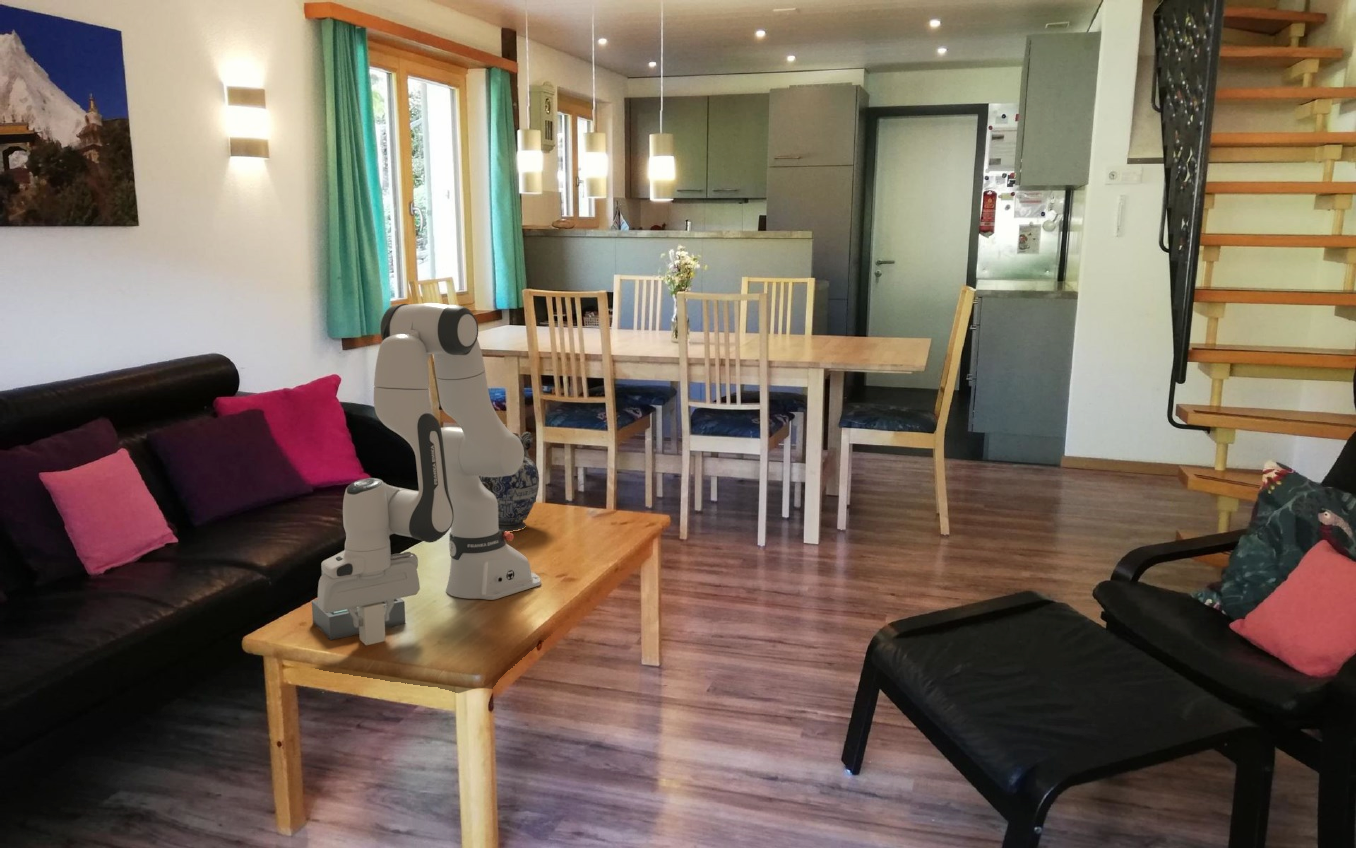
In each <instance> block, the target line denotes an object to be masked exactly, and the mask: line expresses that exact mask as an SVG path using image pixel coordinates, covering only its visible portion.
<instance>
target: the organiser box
mask: <svg viewBox="0 0 1356 848" xmlns="http://www.w3.org/2000/svg"><path fill="white" fill-rule="evenodd" d="M382 603H383V604H384V607H385V605H386V603H385V602H382ZM405 606H406V605H405V600H404V599H402V598H398V599H394V605H393V607H392V609H391V611H390V613H389V621H385V629H386V628H390V627H394V626H399V625H404V624H406V608H405ZM311 610H312V611H311V612H312V615H311V616H312V624H313V625H315V626H316V628H317V629H319V631H320V632H321V633H323V634H324V636H325V637H326V638H328V639H329V641H334V640H337V639H342V638H347V637H350V636H351V637H352V636H356V635H359V627H357V628H356V627H354V624H353V618H352V616H351V615H350V614H349V612H343V613H339V614H334V615H332V614H331V613H325V612H324V611H322V610H321V609H320V608H319V606H318V599H316V600H315V599H314V600H311ZM354 613H355V614H356V616H357V617H358V609H357V612H354Z"/></svg>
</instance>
